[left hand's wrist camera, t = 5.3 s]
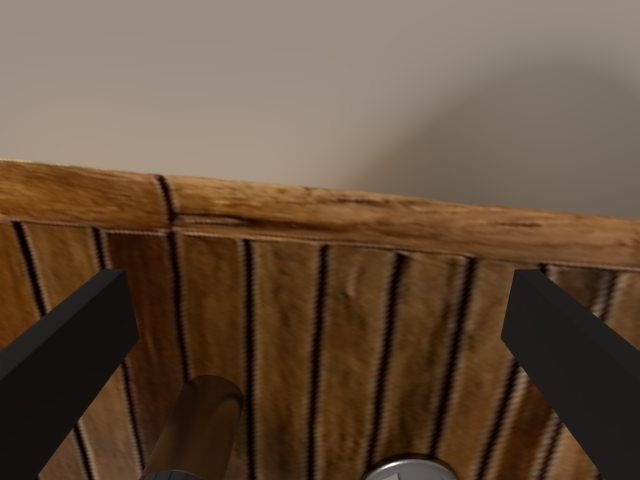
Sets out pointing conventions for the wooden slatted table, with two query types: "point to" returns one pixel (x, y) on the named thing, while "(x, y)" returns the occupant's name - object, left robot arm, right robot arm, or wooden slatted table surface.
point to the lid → (170, 476)
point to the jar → (199, 430)
